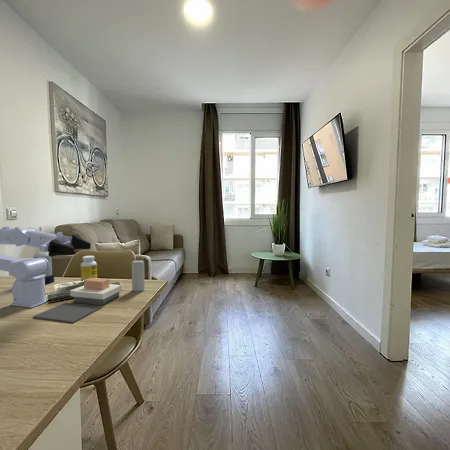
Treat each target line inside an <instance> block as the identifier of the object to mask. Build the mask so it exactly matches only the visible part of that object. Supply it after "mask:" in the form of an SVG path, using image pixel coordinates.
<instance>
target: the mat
mask: <svg viewBox="0 0 450 450" xmlns="http://www.w3.org/2000/svg"><path fill="white" fill-rule="evenodd" d="M102 308H103V307H102V306H101V305H92V304H91V305H90V304H83V303H82V304H81V303H80V304H79V303H73V302H72V303H70V302H63V303H61V304H59V305H55V306H54V307H50V309H47V310H44V311H43V312H42V311H41V312H40V313H38V314H37V313H36V314H35V315H33V316H32V318H33V319H39V320H46V321H53V322H63V323H69V324H75V323H77V322H79V321H80V320H83V319H85V318H86V317H88V316H90V315H92V314H94V313H95V312H97V311H99V310H101V309H102Z"/></svg>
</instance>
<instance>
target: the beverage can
mask: <svg viewBox="0 0 450 450" xmlns="http://www.w3.org/2000/svg"><path fill="white" fill-rule="evenodd" d="M145 283H146V281H145V260H142V259H140V260H139V259H138V260H137V259H136V260H133V261H131V287H132V288H131V290H132V291H133V292H134V293H141V292H143V291H144V290H145V288H146V287H145Z"/></svg>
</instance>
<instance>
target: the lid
mask: <svg viewBox="0 0 450 450" xmlns="http://www.w3.org/2000/svg"><path fill="white" fill-rule="evenodd" d="M122 291H123V285H122V284H116V283H115V284H114V283H113V284H112V283H110V279H109V278H98V277H97V278H89V279H86V280H84V283H83V285H81V286H78V287H76V288H74V289H70V290H69V297H73V298H74V297H83V298H93V299H102V300H103V299H105V298H107V297H109V296H111V295H113V294H115V293H117V292H119V293H120V292H122Z"/></svg>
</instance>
